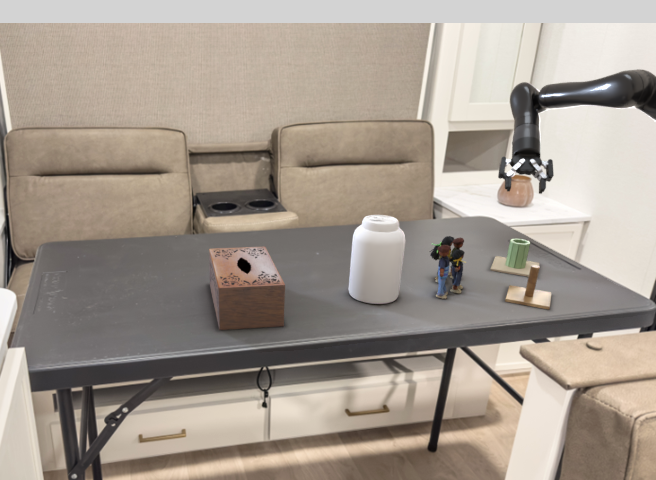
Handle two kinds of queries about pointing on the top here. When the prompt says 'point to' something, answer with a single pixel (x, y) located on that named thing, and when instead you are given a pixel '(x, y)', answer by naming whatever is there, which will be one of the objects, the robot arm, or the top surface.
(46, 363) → the top surface
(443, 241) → the doll family
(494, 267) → the oatmeal mat
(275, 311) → the tissue box cover
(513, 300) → the stacking stand
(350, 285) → the can
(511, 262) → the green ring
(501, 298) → the top surface
